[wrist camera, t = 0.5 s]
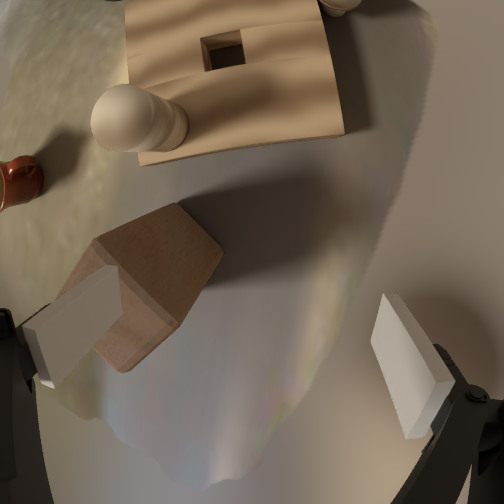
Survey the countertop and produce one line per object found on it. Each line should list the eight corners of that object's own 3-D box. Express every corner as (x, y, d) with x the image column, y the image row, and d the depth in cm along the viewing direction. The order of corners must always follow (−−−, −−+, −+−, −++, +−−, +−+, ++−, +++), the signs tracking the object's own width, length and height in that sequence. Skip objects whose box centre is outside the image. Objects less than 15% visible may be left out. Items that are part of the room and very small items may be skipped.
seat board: (139, 15, 33) (82, -29, 18) (304, -19, 30) (309, -88, 14) (156, 165, 39) (88, 172, 24) (337, 137, 36) (371, 123, 21)
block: (176, 198, 41) (92, 233, 22) (228, 250, 42) (183, 325, 23) (134, 247, 43) (47, 306, 24) (182, 295, 45) (121, 380, 26)
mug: (27, 213, 44) (-14, 226, 34) (12, 171, 42) (-29, 178, 32) (67, 179, 41) (22, 188, 32) (50, 134, 39) (6, 134, 30)
